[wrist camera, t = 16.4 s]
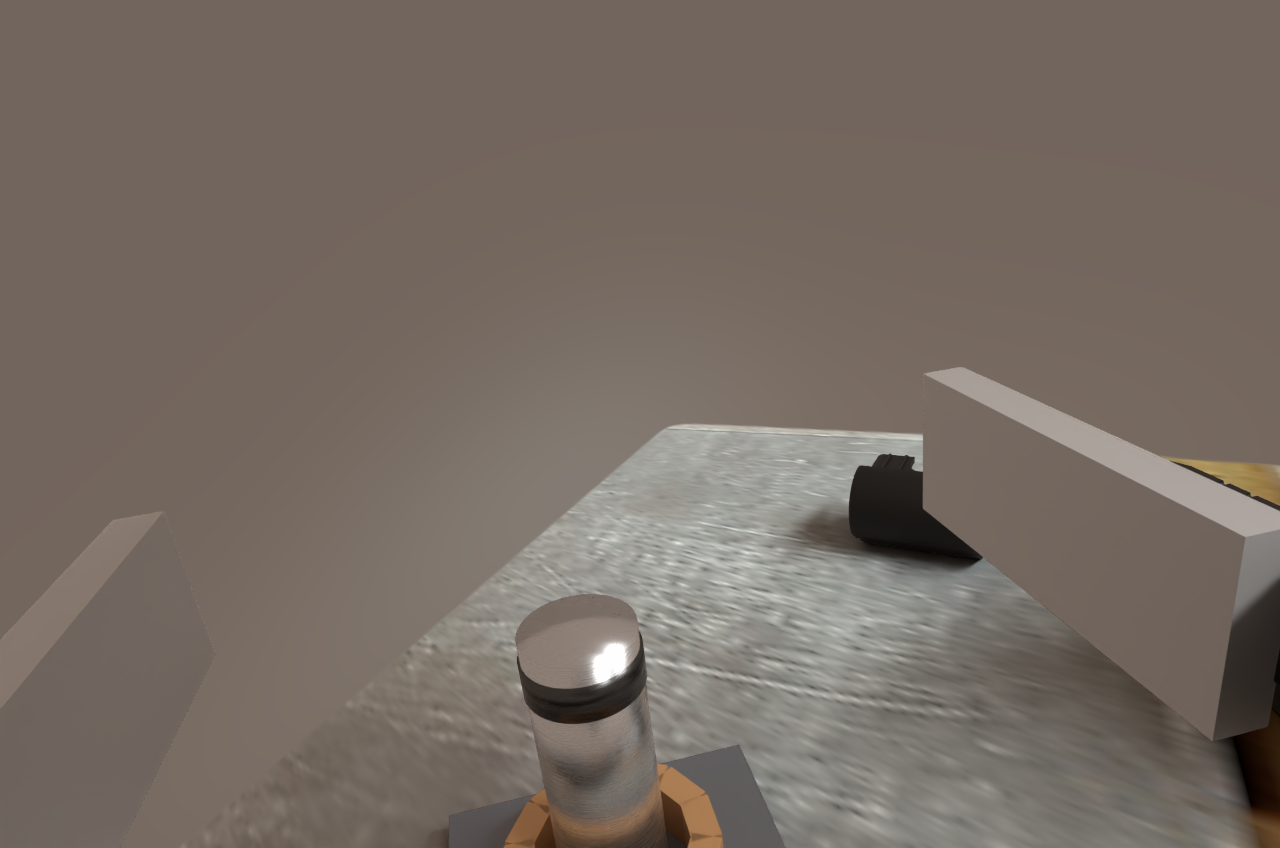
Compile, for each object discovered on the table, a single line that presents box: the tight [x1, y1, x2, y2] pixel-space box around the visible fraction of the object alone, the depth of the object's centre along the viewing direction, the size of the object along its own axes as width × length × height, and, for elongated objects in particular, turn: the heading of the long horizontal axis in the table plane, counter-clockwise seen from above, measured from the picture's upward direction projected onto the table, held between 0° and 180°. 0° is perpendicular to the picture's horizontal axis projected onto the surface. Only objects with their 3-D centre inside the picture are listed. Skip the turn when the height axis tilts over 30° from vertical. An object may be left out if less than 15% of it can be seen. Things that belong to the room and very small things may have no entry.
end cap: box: [849, 454, 983, 560], centre depth 64 cm, size 10×7×7 cm
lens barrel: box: [515, 594, 668, 848], centre depth 36 cm, size 5×5×14 cm
